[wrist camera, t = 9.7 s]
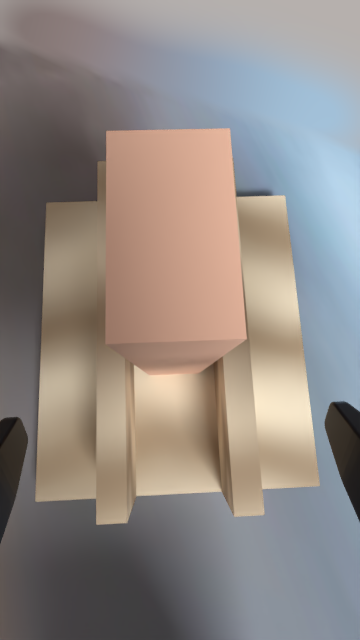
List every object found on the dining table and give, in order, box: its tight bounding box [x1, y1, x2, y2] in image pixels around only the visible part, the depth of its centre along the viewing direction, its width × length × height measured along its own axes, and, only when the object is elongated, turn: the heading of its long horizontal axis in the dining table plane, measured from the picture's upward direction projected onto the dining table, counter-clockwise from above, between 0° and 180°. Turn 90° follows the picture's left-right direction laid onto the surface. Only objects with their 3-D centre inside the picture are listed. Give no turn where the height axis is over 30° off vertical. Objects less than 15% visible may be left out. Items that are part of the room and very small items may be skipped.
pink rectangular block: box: [105, 129, 247, 375], centre depth 13 cm, size 4×3×12 cm, turn 2°
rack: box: [35, 158, 320, 525], centre depth 17 cm, size 16×14×5 cm
